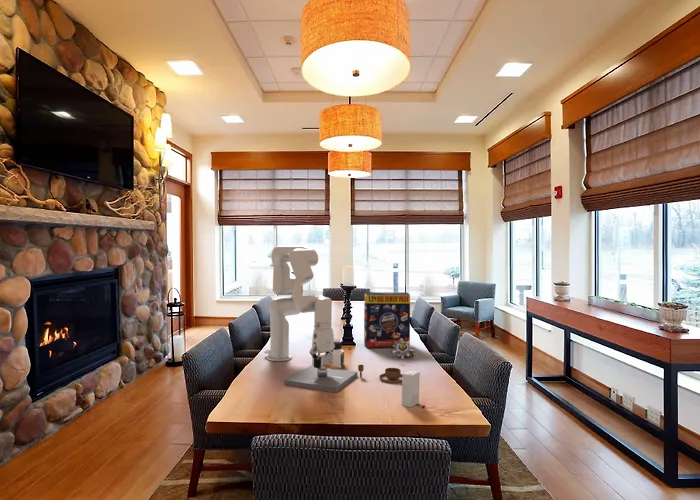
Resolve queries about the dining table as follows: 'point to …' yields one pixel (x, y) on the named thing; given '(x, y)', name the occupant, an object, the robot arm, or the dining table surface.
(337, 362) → the medicine bottle
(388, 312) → the cereal box
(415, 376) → the skincare box
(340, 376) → the base board
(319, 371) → the steel post
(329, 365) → the mallet
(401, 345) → the passion flower
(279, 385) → the dining table surface
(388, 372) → the tea set
